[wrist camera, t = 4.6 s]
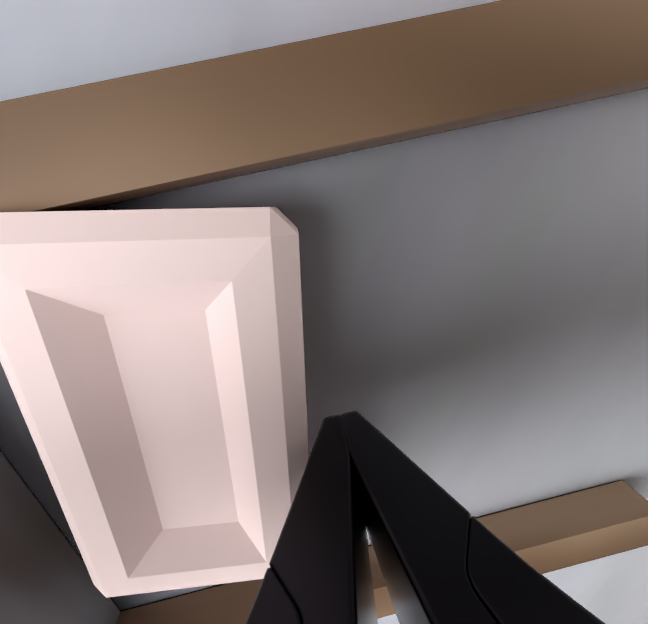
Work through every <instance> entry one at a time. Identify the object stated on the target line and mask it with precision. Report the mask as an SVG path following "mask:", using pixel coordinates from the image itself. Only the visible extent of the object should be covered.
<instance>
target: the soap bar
mask: <svg viewBox="0 0 648 624" xmlns="http://www.w3.org/2000/svg"><path fill="white" fill-rule="evenodd" d="M0 362H1V365H2V367H3V369H4V372H5V374H6V376H7V379H8V381H9V384H10V386H11V388H12V391H13V393H14V396H15V398H16V400H17V403H18V405H19V407H20V410H21V412H22V415H23V417H24V419H25V422H26V424H27V427H28V429H29V431H30V434H31V436H32V438H33V441H34V443H35V446H36V448H37V450H38V453H39V455H40V458H41V460H42V462H43V465H44V467H45V469H46V472H47V474H48V477H49V479H50V481H51V484H52V486H53V489H54V491H55V493H56V496H57V498H58V500H59V503H60V505H61V508H62V510H63V512H64V515H65V517H66V520H67V522H68V524H69V527H70V529H71V531H72V534H73V536H74V539H75V541H76V543H77V546H78V548H79V551H80V553H81V555H82V558H83V560H84V562H85V565H86V567H87V570H88V572H89V574H90V577H91V579H92V582H93V584H94V586H95V587H96V588H97V589H98V590H99V591H100V592H101V593H102V594H103V595H104V596H105V597H106V598H108V597H116V596H125V595H133V594H141V593H150V592H158V591H166V590H174V589H183V588H191V587H199V586H208V585H216V584H224V583H232V582H241V581H249V580H257V579H263V578H264V575H265V573H266V570H267V568H270V565H269V563H270V560H271V557H272V555H273V552H274V549H275V547H276V544H277V541H278V539H279V536H280V534H281V531H282V528H283V526H284V523H285V520H286V518H287V515H288V512H289V510H290V507H291V504H292V502H293V499H294V496H295V494H296V491H297V488H298V486H299V483H300V481H301V478H302V475H303V473H304V470H305V467H306V465H307V462H308V459H309V450H308V428H307V406H306V384H305V362H304V340H303V318H302V296H301V275H300V253H299V233H298V228H297V227H296V226H295V225H294V224H293V223H292V222H291V221H290V220H289V219H288V218H287V217H286V216H285V215H284V214H283V213H282V212H280V211H279V210H278V209H277V208H276V207H240V208H191V209H142V210H93V211H44V212H0Z"/></svg>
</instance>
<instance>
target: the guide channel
mask: <svg viewBox="0 0 648 624" xmlns="http://www.w3.org/2000/svg"><path fill="white" fill-rule="evenodd" d="M644 88H648V0H501V1H497V2H492V3H487V4H482V5H477V6H472V7H467V8H462V9H457V10H452V11H447V12H442V13H437V14H432V15H427V16H422V17H417V18H412V19H407V20H402V21H397V22H392V23H388V24H383V25H378V26H373V27H368V28H363V29H358V30H353V31H348V32H343V33H338V34H333V35H328V36H323V37H318V38H313V39H308V40H303V41H298V42H293V43H288V44H283V45H279V46H274V47H269V48H264V49H259V50H254V51H249V52H244V53H239V54H234V55H229V56H224V57H219V58H214V59H209V60H204V61H199V62H194V63H189V64H184V65H179V66H174V67H170V68H165V69H160V70H155V71H150V72H145V73H140V74H135V75H130V76H125V77H120V78H115V79H110V80H105V81H100V82H95V83H90V84H85V85H80V86H75V87H70V88H65V89H61V90H56V91H51V92H46V93H41V94H36V95H31V96H26V97H21V98H16V99H11V100H6V101H1V102H0V212H44V211H79V210H84V209H89V208H93V207H98V206H102V205H107V204H112V203H116V202H121V201H126V200H130V199H135V198H140V197H144V196H149V195H153V194H158V193H163V192H167V191H172V190H177V189H181V188H186V187H190V186H195V185H200V184H204V183H209V182H214V181H218V180H223V179H228V178H232V177H237V176H241V175H246V174H251V173H255V172H260V171H265V170H269V169H274V168H279V167H283V166H288V165H292V164H297V163H302V162H306V161H311V160H316V159H320V158H325V157H329V156H334V155H339V154H343V153H348V152H353V151H357V150H362V149H367V148H371V147H376V146H380V145H385V144H390V143H394V142H399V141H404V140H408V139H413V138H417V137H422V136H427V135H431V134H436V133H441V132H445V131H450V130H455V129H459V128H464V127H468V126H473V125H478V124H482V123H487V122H492V121H496V120H501V119H505V118H510V117H515V116H519V115H524V114H529V113H533V112H538V111H543V110H547V109H552V108H556V107H561V106H566V105H570V104H575V103H580V102H584V101H589V100H594V99H598V98H603V97H607V96H612V95H617V94H621V93H626V92H631V91H635V90H640V89H644ZM476 519H478V520H479V521H480V522H481V523H482V524H483V525H484V526H485V527H486V528H487V529H489V530H490V531H491V532H492V533H493V534H494V535H495V536H496V537H497V538H499V539H500V540H501V541H502V542H503V543H504V544H506V545H507V546H508V547H509V548H510V549H511V550H513V551H514V552H515V553H516V554H517V555H518V556H520V557H521V558H522V559H523V560H524V561H525V562H527V563H528V564H529V565H530V566H531V567H533V568H534V569H535V570H537V571H538V572H539V573H540V574H543V573H547V572H551V571H554V570H558V569H562V568H566V567H569V566H573V565H577V564H580V563H584V562H588V561H591V560H595V559H599V558H602V557H606V556H610V555H614V554H617V553H621V552H625V551H628V550H632V549H636V548H639V547H643V546H647V545H648V501H647V500H646V499H645V498H644V497H642V496H641V495H640V494H639V493H638V492H636V491H635V490H634V489H633V488H631V487H630V486H629V485H628V484H627V483H625V482H624V481H623V480H621V481H617V482H613V483H610V484H606V485H602V486H598V487H594V488H591V489H587V490H583V491H579V492H575V493H572V494H568V495H564V496H560V497H556V498H552V499H549V500H545V501H541V502H537V503H533V504H530V505H526V506H522V507H518V508H514V509H510V510H507V511H503V512H499V513H495V514H491V515H488V516H484V517H480V518H476ZM368 548H369V556H370V564H371V573H372V581H373V589H374V597H375V605H376V614H377V618H381V617H385V616H388V615H392V614H396V612H395V609H394V606H393V603H392V600H391V597H390V594H389V592H388V589H387V586H386V583H385V580H384V577H383V574H382V572H381V569H380V566H379V563H378V560H377V557H376V554H375V551H374V549H373V546H369V547H368ZM262 581H263V579H257V580H249V581H241V582H232V583H228V584H224V585H221V586H217V587H213V588H209V589H205V590H202V591H198V592H194V593H190V594H186V595H183V596H179V597H175V598H171V599H167V600H163V601H160V602H156V603H152V604H148V605H144V606H141V607H137V608H133V609H129V610H125V611H121V612H120V610H119V609H118V608H117V606H116V605H115V604H114V602H113V601H112V600H111V598H110V597H108V598H106V597H105V596H104V595H103V594H102V593H101V592H100V591H99V590H98V589H97V588H96V587H95V586H94V584H93V582H92V579H91V577H90V574H89V572H88V570H87V567H86V565H85V564H84V562H83V561H82V560H81V558H80V557H79V556H78V554H77V553H76V552H75V550H74V549H73V548H72V546H71V545H70V544H69V542H68V541H67V540H66V538H65V537H64V536H63V534H62V533H61V532H60V530H59V529H58V528H57V526H56V525H55V524H54V522H53V521H52V520H51V518H50V517H49V516H48V514H47V513H46V512H45V510H44V509H43V508H42V506H41V505H40V504H39V502H38V501H37V500H36V498H35V497H34V496H33V494H32V493H31V492H30V490H29V489H28V488H27V486H26V485H25V484H24V482H23V481H22V480H21V478H20V477H19V476H18V474H17V473H16V472H15V470H14V469H13V468H12V466H11V465H10V464H9V462H8V461H7V460H6V458H5V457H4V456H3V454H2V453H1V452H0V624H246V621H247V619H248V616H249V614H250V611H251V609H252V606H253V604H254V602H255V599H256V597H257V594H258V591H259V589H260V586H261V583H262Z"/></svg>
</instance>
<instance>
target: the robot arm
mask: <svg viewBox="0 0 648 624" xmlns="http://www.w3.org/2000/svg"><path fill="white" fill-rule="evenodd" d="M366 528H367V531H368V534H369V537H370V540H371V543H372V546H373V549H374V551H375V554H376V557H377V560H378V563H379V566H380V569H381V572H382V574H383V577H384V580H385V583H386V586H387V589H388V592H389V594H390V597H391V600H392V603H393V606H394V609H395V612H396V615H397V617H398V620H399V623H400V624H605V623H604V622H602V621H601V620H600V619H598V618H597V617H596V616H595V615H593V614H592V613H591V612H589V611H588V610H587V609H585V608H584V607H583V606H581V605H580V604H579V603H577V602H576V601H575V600H573V599H572V598H571V597H570V596H568V595H567V594H566V593H565V592H563V591H562V590H561V589H559V588H558V587H557V586H556V585H554V584H553V583H552V582H551V581H549V580H548V579H547V578H545V577H544V576H543V575H542V574H540V573H539V572H538V571H537V570H535V569H534V568H533V567H531V566H530V565H529V564H528V563H527V562H525V561H524V560H523V559H522V558H521V557H520V556H518V555H517V554H516V553H515V552H514V551H513V550H511V549H510V548H509V547H508V546H507V545H506V544H504V543H503V542H502V541H501V540H500V539H499V538H497V537H496V536H495V535H494V534H493V533H492V532H491V531H490V530H489V529H487V528H486V527H485V526H484V525H483V524H482V523H481V522H480V521H479V520H478V519H476V518H475V517H471V514H470V513H469V512H468V511H467V510H466V509H465V508H464V507H463V506H462V505H461V504H459V503H458V502H457V501H456V500H455V499H454V498H453V497H452V496H451V495H449V494H448V493H447V492H446V491H445V490H444V489H443V488H442V487H441V486H439V485H438V484H437V483H436V482H435V481H434V480H433V479H432V478H431V477H430V476H428V475H427V474H426V473H425V472H424V471H423V470H422V469H421V468H420V467H418V466H417V465H416V464H415V463H414V462H413V461H412V460H411V459H410V458H408V457H407V456H406V455H405V454H404V453H403V452H402V451H401V450H400V449H398V448H397V447H396V446H395V445H394V444H393V443H392V442H391V441H390V440H388V439H387V438H386V437H385V436H384V435H383V434H382V433H381V432H380V431H378V430H377V429H376V428H375V427H374V426H373V425H372V424H371V423H370V422H368V421H367V420H366V419H365V418H364V417H363V416H362V415H361V414H360V413H358V412H357V411H351V412H347V413H343V414H341V415H334V416H330V417H326V418H325V419H324V420H323V422H322V425H321V428H320V430H319V433H318V436H317V438H316V441H315V443H314V446H313V449H312V451H311V454H310V457H309V459H308V462H307V465H306V467H305V470H304V473H303V475H302V478H301V481H300V483H299V486H298V488H297V491H296V494H295V496H294V499H293V502H292V504H291V507H290V510H289V512H288V515H287V518H286V520H285V523H284V526H283V528H282V531H281V534H280V536H279V539H278V541H277V544H276V547H275V549H274V552H273V555H272V557H271V560H270V563H269V565H270V568H267V570H266V573H265V575H264V578H263V581H262V583H261V586H260V589H259V591H258V594H257V597H256V599H255V602H254V604H253V606H252V609H251V611H250V614H249V616H248V619H247V621H246V624H378V622H377V614H376V605H375V597H374V589H373V581H372V573H371V564H370V556H369V548H368V540H367V532H366Z"/></svg>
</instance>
